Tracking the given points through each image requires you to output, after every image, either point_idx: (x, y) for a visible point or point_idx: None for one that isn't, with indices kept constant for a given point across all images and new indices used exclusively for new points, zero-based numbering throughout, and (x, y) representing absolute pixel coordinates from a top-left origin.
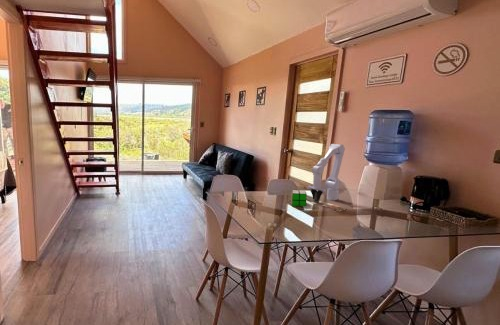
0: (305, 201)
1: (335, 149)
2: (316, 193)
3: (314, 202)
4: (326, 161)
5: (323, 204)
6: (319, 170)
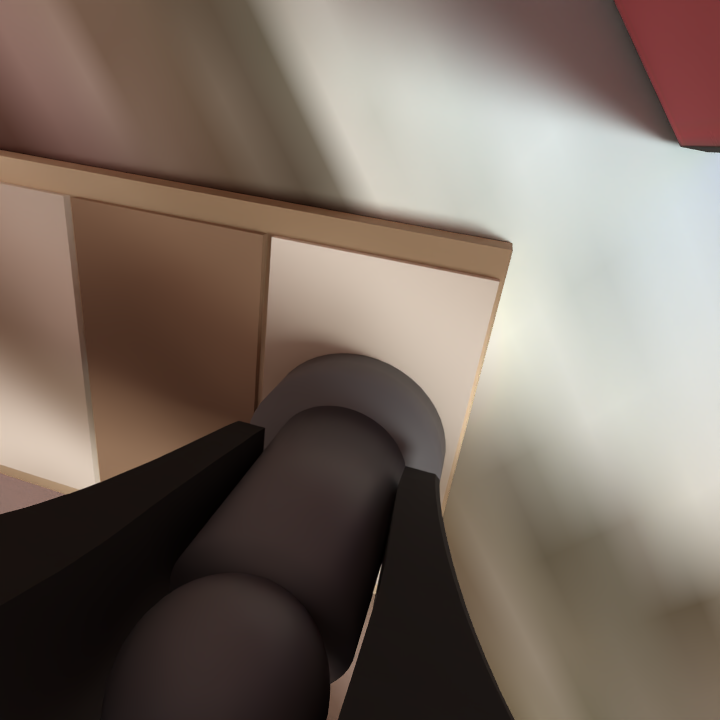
0: None
1: None
2: (144, 662)
3: (362, 356)
4: None
5: (88, 323)
6: None
